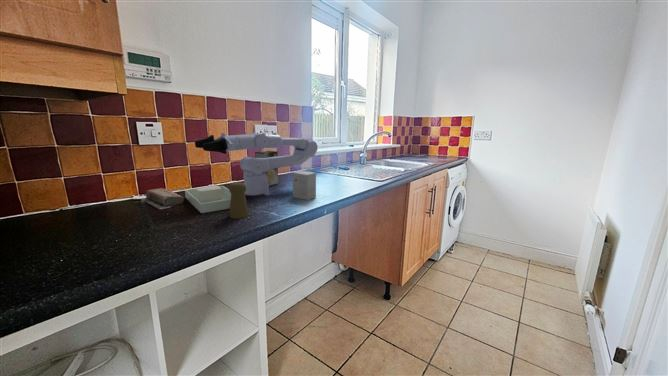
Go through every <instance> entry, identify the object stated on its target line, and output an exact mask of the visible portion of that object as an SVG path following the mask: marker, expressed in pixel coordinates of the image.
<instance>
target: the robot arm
mask: <svg viewBox="0 0 668 376" xmlns="http://www.w3.org/2000/svg"><path fill="white" fill-rule="evenodd" d="M220 133H221V134H220V136H219V137H217V138H215V136H214V134H210V135H209V136H208V137H205V138H202V139H198V140H196V141H194V146H195V148H197V149H202V150H203V151H205V152H213V153H214V152H216V153H221V154H224V155H226V154H227V152H234V151H242V150H249V149H262V150H264V149H279V148H281V146H289V147H290V146H292V147H293V148H294V150H293V154H288V155H277V157H269V158H255V157H251V156H244V157H243V158H242V159H241V160H240V162H239V163H240V164H239V165H240V169H241V170H242V172H243V173H242V174H243V183H244V184H245V185H246V191H245V196H260V195H265V196H270V195H271V194H270V192H269V191H270V189H269V183H268V177H267V175H266V174H265V173H263V172H265V171H268V169H274V168H278V169H279V168H285V167H291V166H299V165H303V164H304V163H305V162H306V161H308V160H309V159H310V158H312V157H314V156H315V155H316V154H317V151H318V149H319V148H318V143H317V141H314V140H310V139H305V138H299V137H282V136H281V135H280V134H277V132H272V133H266V132H261V133H255V132H252V133H250V134H249V133H248V134H234V135H231V134H230V135H226V133H225V132H220ZM262 173H263V174H262Z"/></svg>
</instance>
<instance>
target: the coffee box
mask: <svg viewBox="0 0 668 376" xmlns="http://www.w3.org/2000/svg"><path fill="white" fill-rule="evenodd" d="M277 156H278V151H277V150H276V151H274V150H262V151H255V152H254V158H269V157H277ZM263 173H265V174H266V175H267V177H268V183H269V186H270V187H271V186H272V185H273V186H274V185H277V184H279V168H274V169H268V171H265V172H263ZM263 173H262V174H263Z"/></svg>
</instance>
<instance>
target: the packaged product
mask: <svg viewBox="0 0 668 376" xmlns="http://www.w3.org/2000/svg"><path fill="white" fill-rule="evenodd" d="M140 200H141V202H142V203H143V204H145V203H147V204H149V205H151V206H153V207H154V208H156V209H158V210H165V209H169V208H171V207H174V206H177V205H182V204H184V200H185V197H183V196H182V195H180V194H177V193H175V192H173V191H171V190H168V189H167V188H162V187H160V188H154V189H153V188H152V189H148V190H146V191H145V198H144V197H143V198H141V199H140Z"/></svg>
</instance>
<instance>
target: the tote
mask: <svg viewBox="0 0 668 376" xmlns="http://www.w3.org/2000/svg"><path fill="white" fill-rule="evenodd" d="M218 186H219V187H220V188H222V192H223V199H218V200H211V201H205V202H200V201H199V200H198V199H196V191H195V188H192V189H191V188H190V189H185V190H184V194H185V196H184V198H185V199H186V200H187V201H188V202H189V203H190V204H191V205H192V206H193V207H194V208H195V209H196V210H197V211H198V212H200V214H205V213H212V212H217V211H223V210H230V202H231V192H230V191H229V187H226V186H224V185H218Z"/></svg>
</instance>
